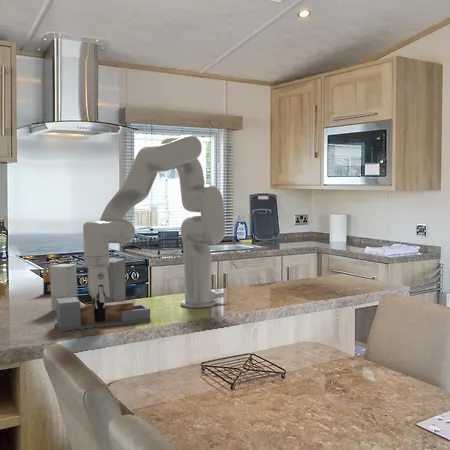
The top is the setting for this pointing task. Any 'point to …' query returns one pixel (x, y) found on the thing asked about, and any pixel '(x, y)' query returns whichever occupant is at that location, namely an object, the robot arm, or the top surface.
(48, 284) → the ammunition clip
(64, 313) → the endcap board
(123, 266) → the skincare box
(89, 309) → the slat
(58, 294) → the skincare box
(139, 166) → the robot arm
